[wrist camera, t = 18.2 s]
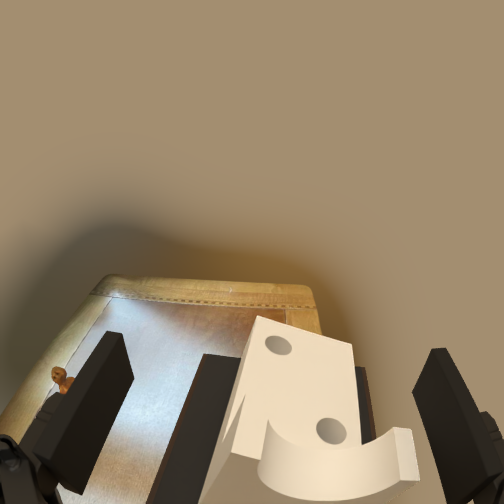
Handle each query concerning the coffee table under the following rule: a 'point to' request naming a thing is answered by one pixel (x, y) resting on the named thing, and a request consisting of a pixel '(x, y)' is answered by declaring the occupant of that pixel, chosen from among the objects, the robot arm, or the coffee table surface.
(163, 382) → the coffee table surface
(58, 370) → the figurine
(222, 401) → the black pad
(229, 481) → the bracket
